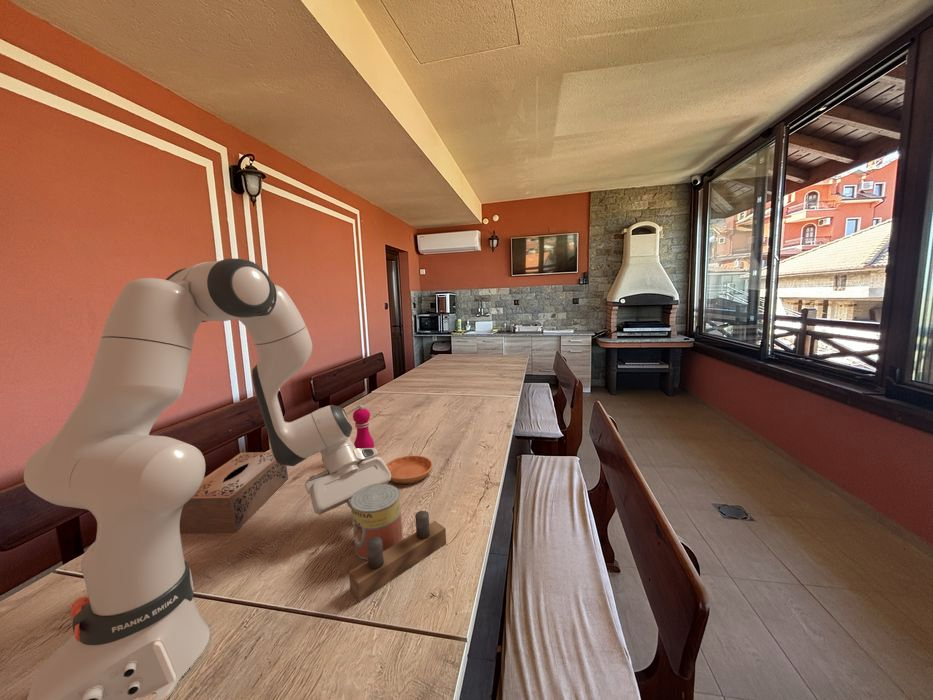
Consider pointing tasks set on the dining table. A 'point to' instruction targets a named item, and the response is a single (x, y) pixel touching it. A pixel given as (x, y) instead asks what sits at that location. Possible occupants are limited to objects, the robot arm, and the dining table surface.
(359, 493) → the canned food
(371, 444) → the pepper mill
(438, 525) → the bench stop
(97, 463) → the robot arm
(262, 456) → the tissue box cover
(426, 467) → the saucer
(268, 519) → the dining table surface
